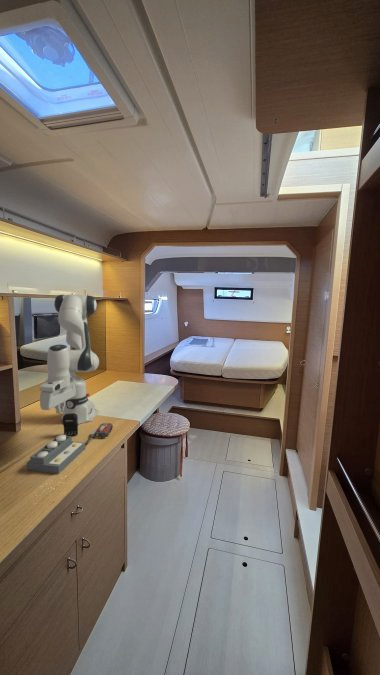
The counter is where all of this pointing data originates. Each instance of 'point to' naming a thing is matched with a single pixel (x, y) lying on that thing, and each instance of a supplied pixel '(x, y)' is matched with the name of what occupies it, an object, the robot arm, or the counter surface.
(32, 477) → the counter surface
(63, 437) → the button
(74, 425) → the battery charger
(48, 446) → the middle button
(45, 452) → the button
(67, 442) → the pattern board
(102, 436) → the walkie-talkie
